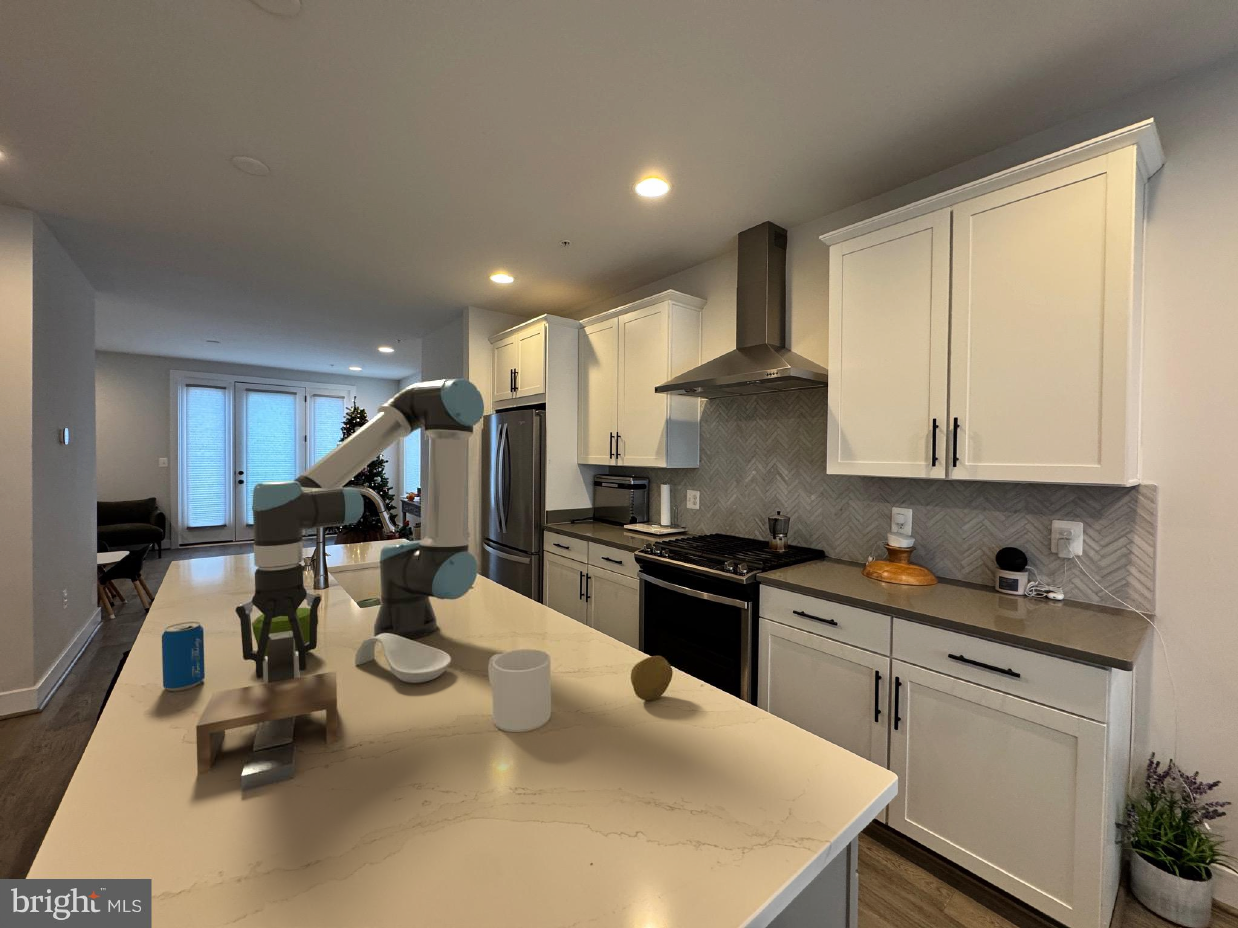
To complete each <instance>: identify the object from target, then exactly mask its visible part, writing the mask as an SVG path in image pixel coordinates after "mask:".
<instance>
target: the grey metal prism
mask: <svg viewBox="0 0 1238 928" xmlns="http://www.w3.org/2000/svg"><path fill="white" fill-rule="evenodd" d="M294 653H295V640H294V636H293V632H292V631H287V632H280V633H273V634H269V636H268V639H267V660H268V683H271V682H277V681H283V680H288V679H294ZM296 718H297V717H296V716H292V717H287V718H282V719H277V720H272V721H268V722H263V723H258V728H257V732H256V736H255V739H254V742H253V745H252V746H253V752H255V751H258V750H262V749H263V750H264V749H267V748H271V747H272V748H273V747H276V746H280V745H285V744H289V743H293V736H294V731H295V724H296V723H295V721H296Z"/></svg>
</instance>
